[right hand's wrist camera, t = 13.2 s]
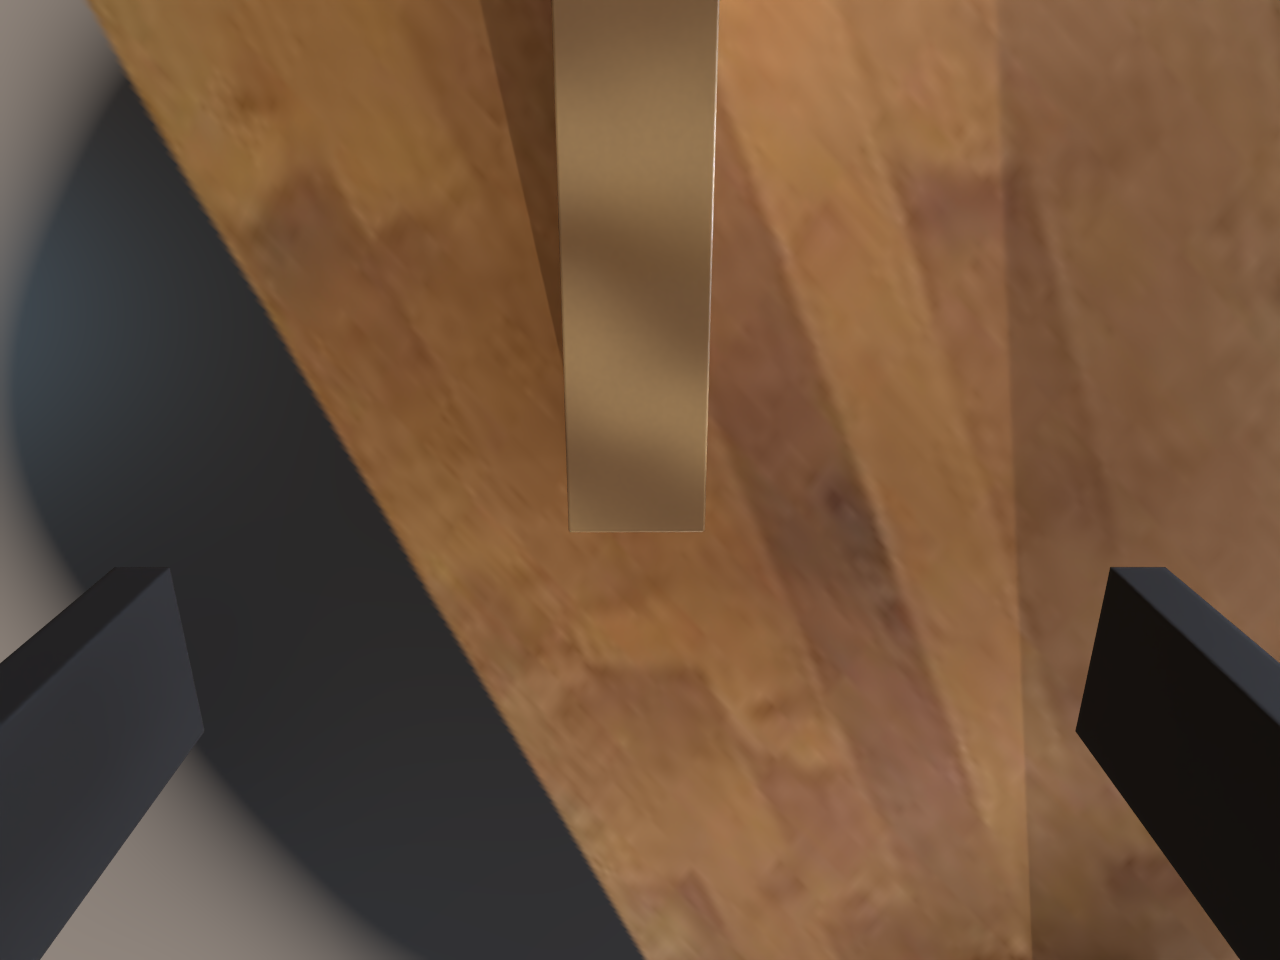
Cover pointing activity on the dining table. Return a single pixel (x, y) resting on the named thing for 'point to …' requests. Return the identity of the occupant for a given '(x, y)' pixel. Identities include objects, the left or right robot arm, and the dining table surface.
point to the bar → (636, 256)
